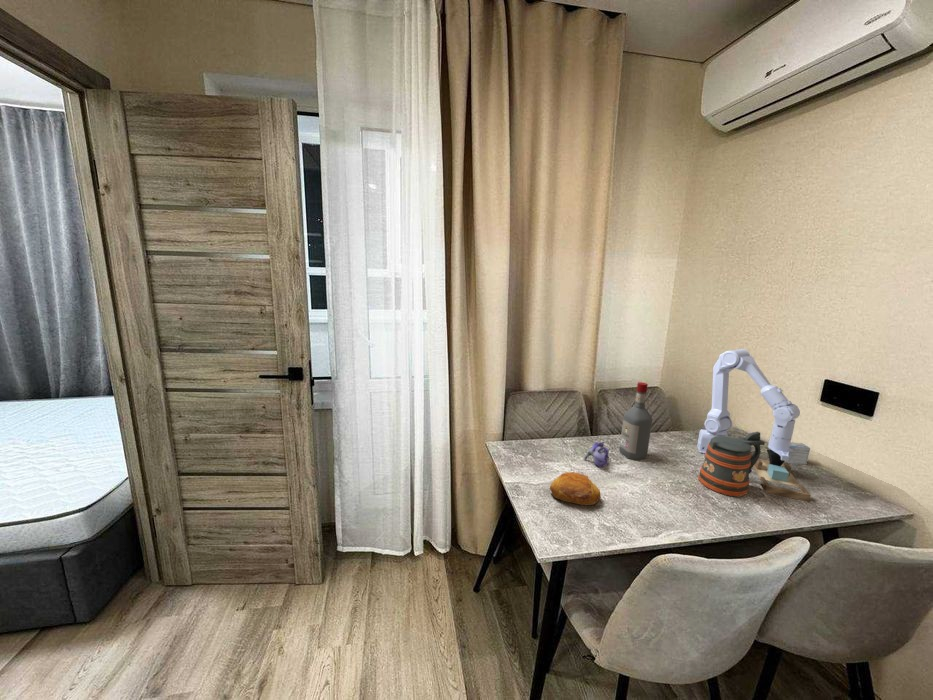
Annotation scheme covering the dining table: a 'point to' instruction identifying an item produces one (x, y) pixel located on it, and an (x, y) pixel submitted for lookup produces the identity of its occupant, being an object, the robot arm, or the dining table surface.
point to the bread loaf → (575, 489)
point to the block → (778, 473)
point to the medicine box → (798, 453)
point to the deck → (761, 471)
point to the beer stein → (730, 463)
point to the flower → (599, 454)
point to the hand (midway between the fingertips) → (773, 470)
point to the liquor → (636, 427)
